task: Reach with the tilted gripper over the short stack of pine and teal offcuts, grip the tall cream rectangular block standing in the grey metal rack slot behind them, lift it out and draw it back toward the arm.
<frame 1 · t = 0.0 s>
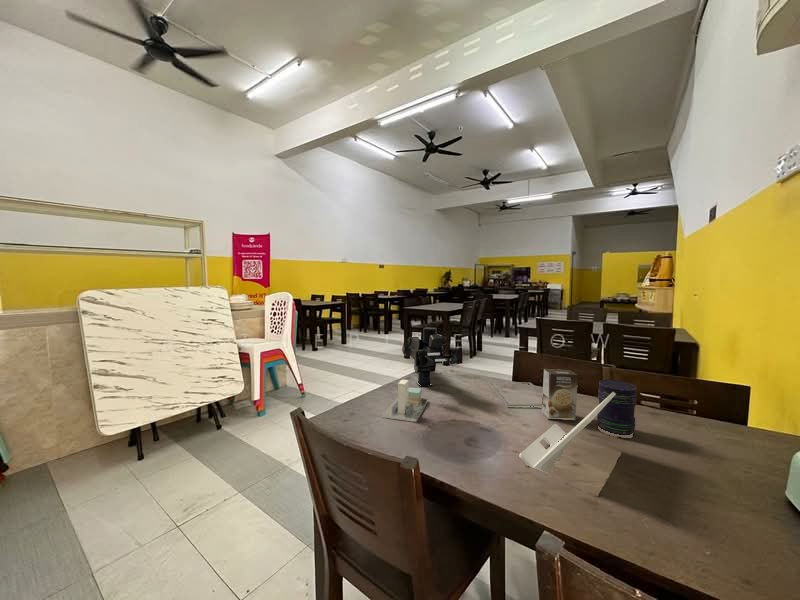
hand: (445, 362, 118), 17 cm above the table, tool horizontal, fingers open, 9 cm apart
cream rectangular block: (403, 411, 112), point 1 cm above the table, touching rack
offcut top: (411, 394, 122), point 3 cm above the table, touching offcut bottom
rack: (403, 413, 112), on the table
cookie box: (558, 417, 110), on the table
storage jar: (615, 431, 100), on the table
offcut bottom: (411, 399, 122), point 1 cm above the table, touching offcut top, rack
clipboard: (518, 395, 132), on the table
tablet stand: (571, 459, 84), on the table
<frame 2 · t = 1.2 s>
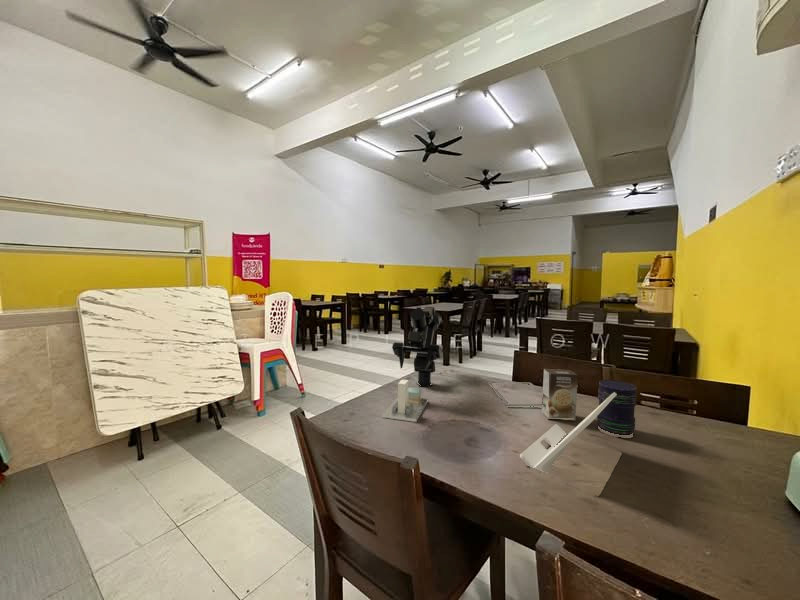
hand: (412, 368, 120), 14 cm above the table, tool tilted 45°, fingers open, 9 cm apart
nothing on the table moved.
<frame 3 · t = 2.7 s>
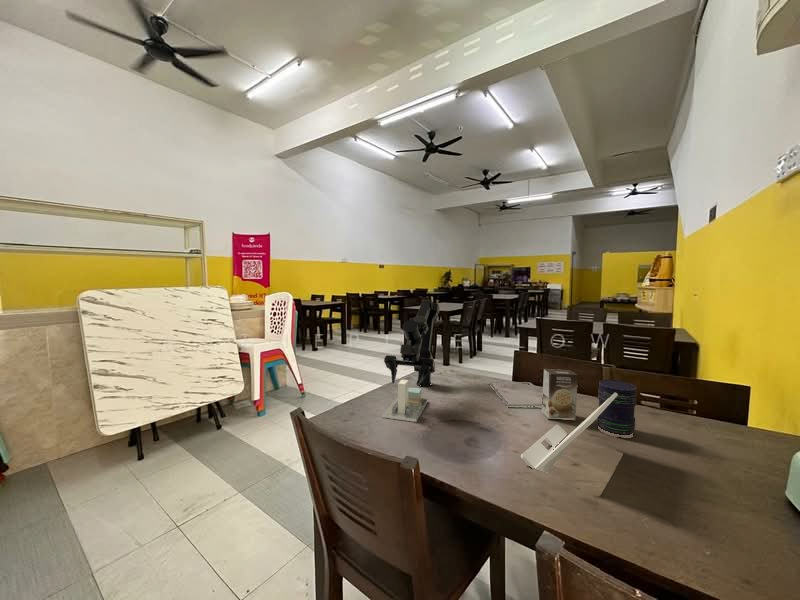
hand: (405, 384, 113), 10 cm above the table, tool tilted 45°, fingers open, 9 cm apart
nothing on the table moved.
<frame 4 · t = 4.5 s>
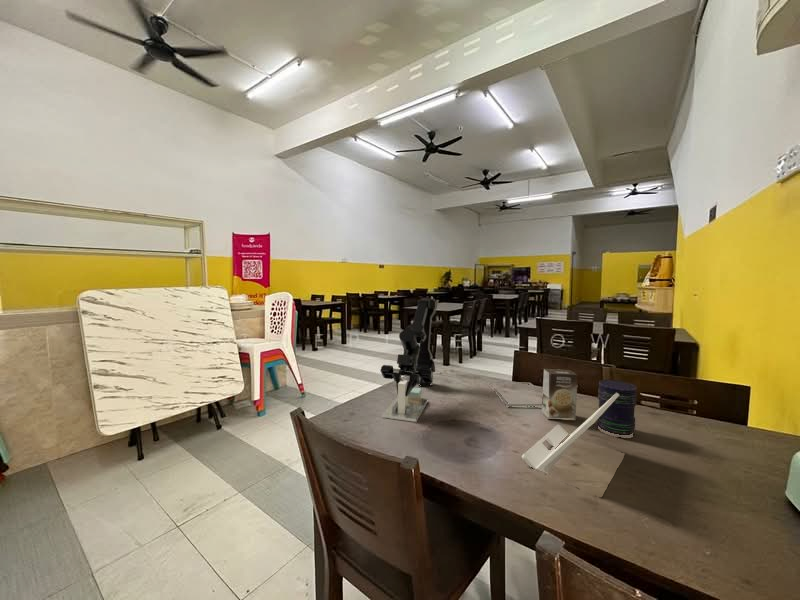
hand: (402, 395, 110), 7 cm above the table, tool tilted 45°, fingers closed on cream rectangular block, 2 cm apart
cream rectangular block: (403, 411, 112), point 1 cm above the table, touching gripper, rack
everything else where it was.
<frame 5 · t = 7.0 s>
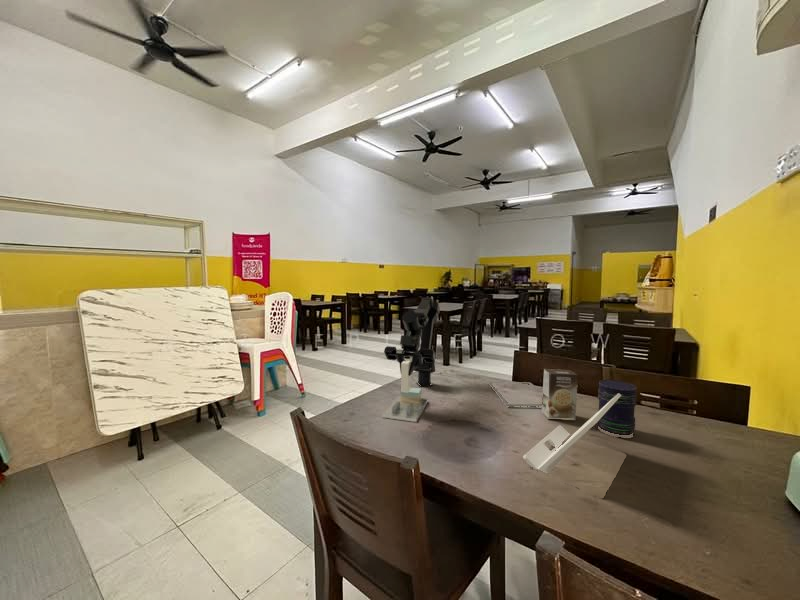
hand: (405, 374, 113), 13 cm above the table, tool tilted 45°, fingers closed on cream rectangular block, 2 cm apart
cream rectangular block: (406, 390, 115), point 7 cm above the table, touching gripper
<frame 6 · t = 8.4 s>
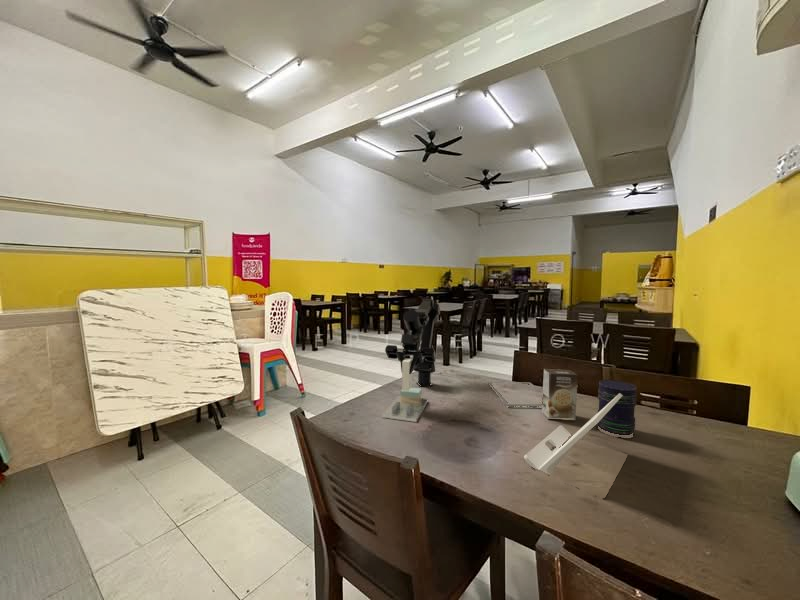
hand: (406, 373, 114), 14 cm above the table, tool tilted 45°, fingers closed on cream rectangular block, 2 cm apart
cream rectangular block: (407, 388, 116), point 7 cm above the table, touching gripper
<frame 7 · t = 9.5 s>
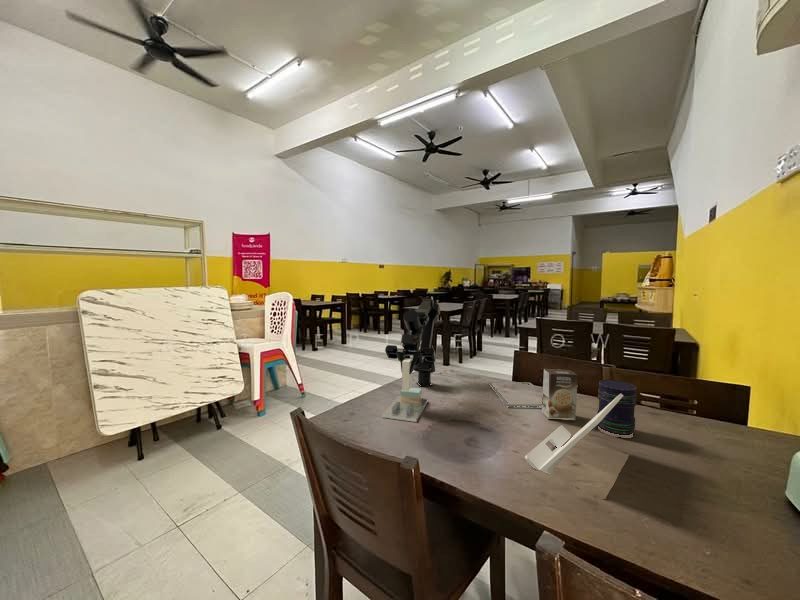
hand: (406, 373, 114), 14 cm above the table, tool tilted 45°, fingers closed on cream rectangular block, 2 cm apart
cream rectangular block: (407, 388, 116), point 7 cm above the table, touching gripper
at the end: the gripper is holding cream rectangular block; cream rectangular block point 7.5 cm above the table; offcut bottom moved 0.0 cm from its start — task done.
